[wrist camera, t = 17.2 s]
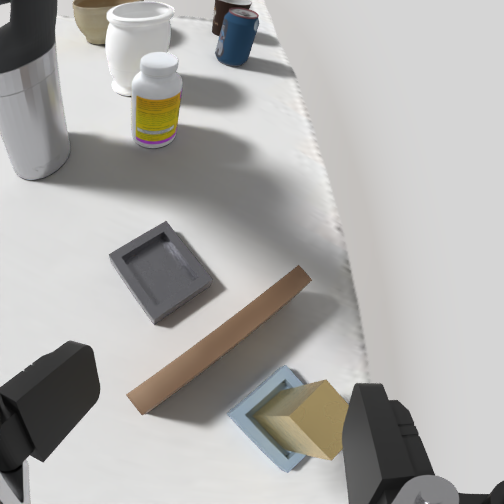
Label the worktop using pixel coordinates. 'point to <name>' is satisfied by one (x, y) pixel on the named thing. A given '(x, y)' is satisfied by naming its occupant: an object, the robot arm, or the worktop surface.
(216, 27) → the coffee mug
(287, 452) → the socket
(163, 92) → the supplement bottle
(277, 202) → the worktop surface
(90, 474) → the worktop surface
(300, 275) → the board
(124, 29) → the jar
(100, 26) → the planter bowl
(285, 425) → the block
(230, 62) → the soda can
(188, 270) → the grey square flat frame
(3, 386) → the robot arm
